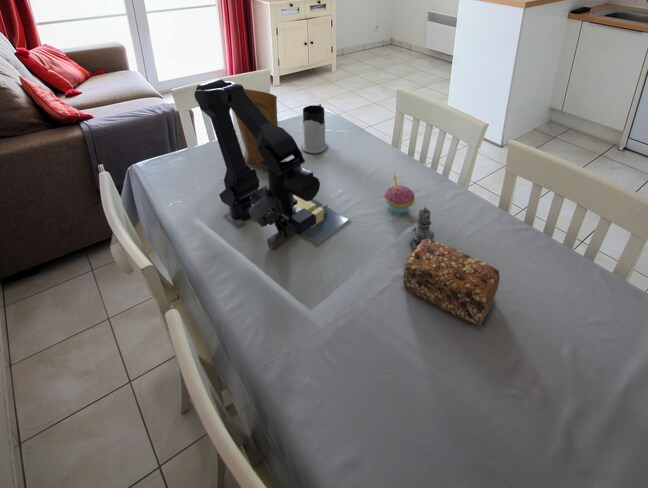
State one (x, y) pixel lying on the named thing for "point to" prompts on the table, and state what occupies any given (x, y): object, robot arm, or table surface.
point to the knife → (280, 238)
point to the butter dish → (325, 224)
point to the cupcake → (399, 197)
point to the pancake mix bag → (252, 154)
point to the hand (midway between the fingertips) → (284, 235)
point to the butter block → (304, 204)
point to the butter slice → (318, 215)
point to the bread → (451, 280)
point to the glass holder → (314, 129)
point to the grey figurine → (422, 228)
